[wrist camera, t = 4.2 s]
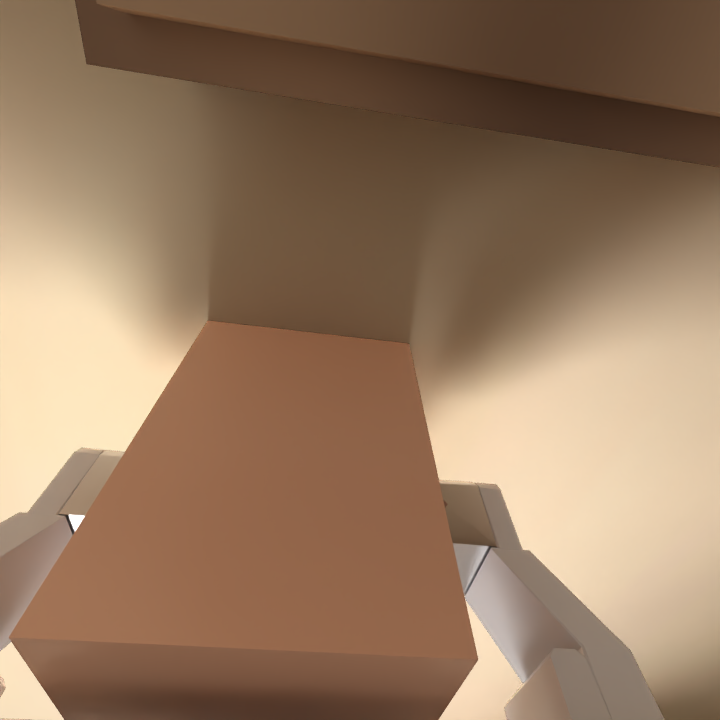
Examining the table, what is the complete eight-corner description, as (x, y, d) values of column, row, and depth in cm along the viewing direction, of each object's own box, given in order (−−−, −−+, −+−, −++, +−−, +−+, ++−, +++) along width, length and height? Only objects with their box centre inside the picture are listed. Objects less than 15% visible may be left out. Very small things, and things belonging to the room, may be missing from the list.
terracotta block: (409, 343, 11) (478, 659, 5) (377, 476, 13) (395, 783, 7) (208, 319, 10) (9, 636, 4) (217, 462, 13) (103, 776, 7)
